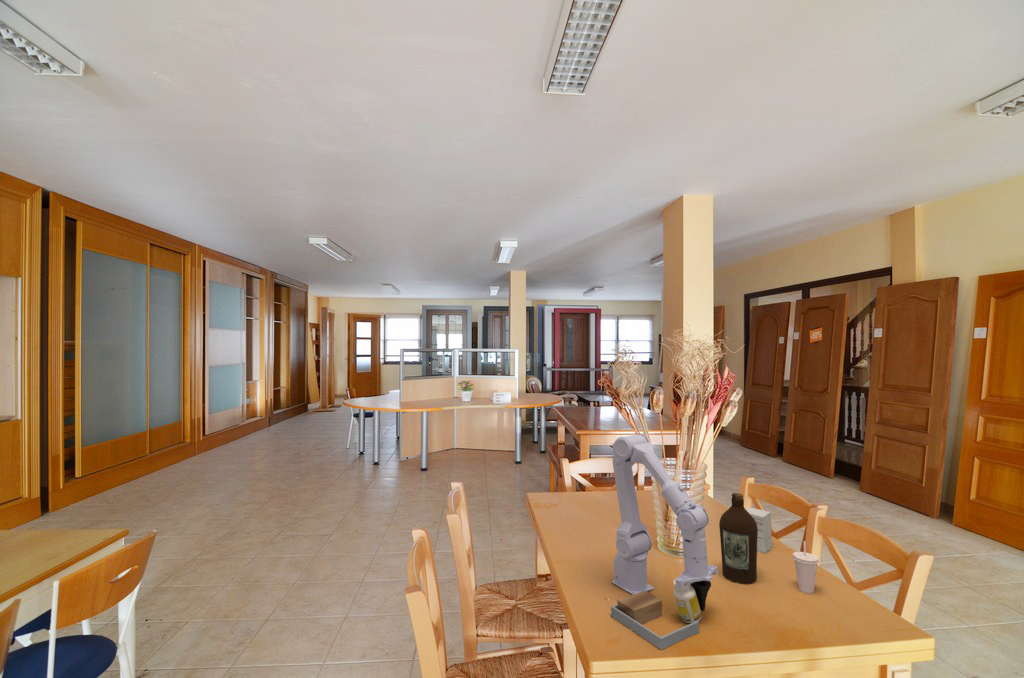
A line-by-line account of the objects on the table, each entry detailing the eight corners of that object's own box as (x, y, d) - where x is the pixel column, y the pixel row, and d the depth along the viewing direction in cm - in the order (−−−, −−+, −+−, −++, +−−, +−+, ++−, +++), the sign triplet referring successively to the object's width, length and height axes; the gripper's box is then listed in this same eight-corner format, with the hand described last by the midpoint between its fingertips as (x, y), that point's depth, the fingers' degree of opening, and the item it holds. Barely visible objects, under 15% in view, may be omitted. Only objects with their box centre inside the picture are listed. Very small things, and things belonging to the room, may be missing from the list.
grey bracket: (611, 616, 122) (611, 606, 122) (648, 602, 129) (647, 592, 129) (661, 649, 108) (660, 638, 108) (699, 632, 115) (699, 621, 115)
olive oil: (724, 566, 151) (722, 487, 152) (761, 575, 144) (759, 493, 145) (716, 578, 142) (715, 495, 143) (755, 588, 136) (753, 501, 137)
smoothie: (791, 590, 135) (789, 541, 135) (796, 582, 140) (794, 534, 140) (817, 598, 130) (815, 547, 131) (821, 589, 135) (820, 540, 136)
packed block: (617, 615, 122) (617, 600, 122) (644, 605, 127) (644, 590, 127) (634, 627, 117) (634, 610, 117) (662, 615, 122) (662, 600, 122)
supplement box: (750, 542, 170) (749, 506, 171) (772, 548, 165) (771, 511, 165) (742, 547, 165) (741, 511, 166) (765, 554, 160) (764, 516, 160)
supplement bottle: (700, 607, 122) (690, 573, 122) (704, 622, 117) (694, 586, 116) (678, 610, 124) (669, 576, 123) (681, 625, 118) (671, 589, 118)
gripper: (690, 567, 115) (694, 625, 114) (726, 552, 122) (731, 607, 121) (667, 558, 121) (671, 613, 119) (702, 545, 128) (707, 597, 127)
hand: (699, 609), depth 121 cm, fingers closed, pressing on supplement bottle
